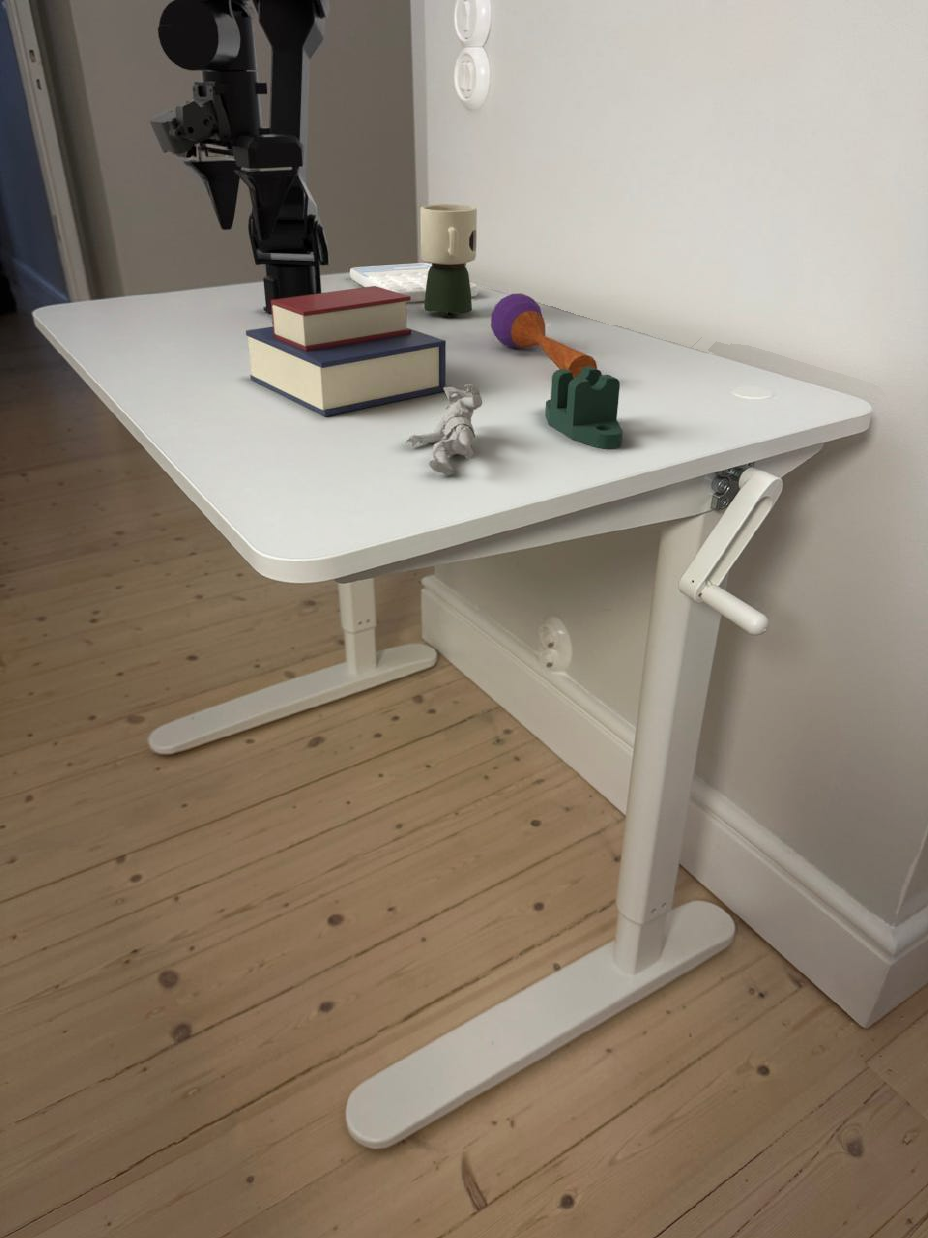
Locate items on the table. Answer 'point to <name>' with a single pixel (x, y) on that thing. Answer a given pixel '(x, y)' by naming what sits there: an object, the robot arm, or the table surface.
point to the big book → (349, 370)
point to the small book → (339, 317)
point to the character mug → (448, 255)
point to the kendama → (533, 332)
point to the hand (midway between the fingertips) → (245, 234)
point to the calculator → (398, 279)
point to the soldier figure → (453, 429)
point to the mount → (585, 407)
